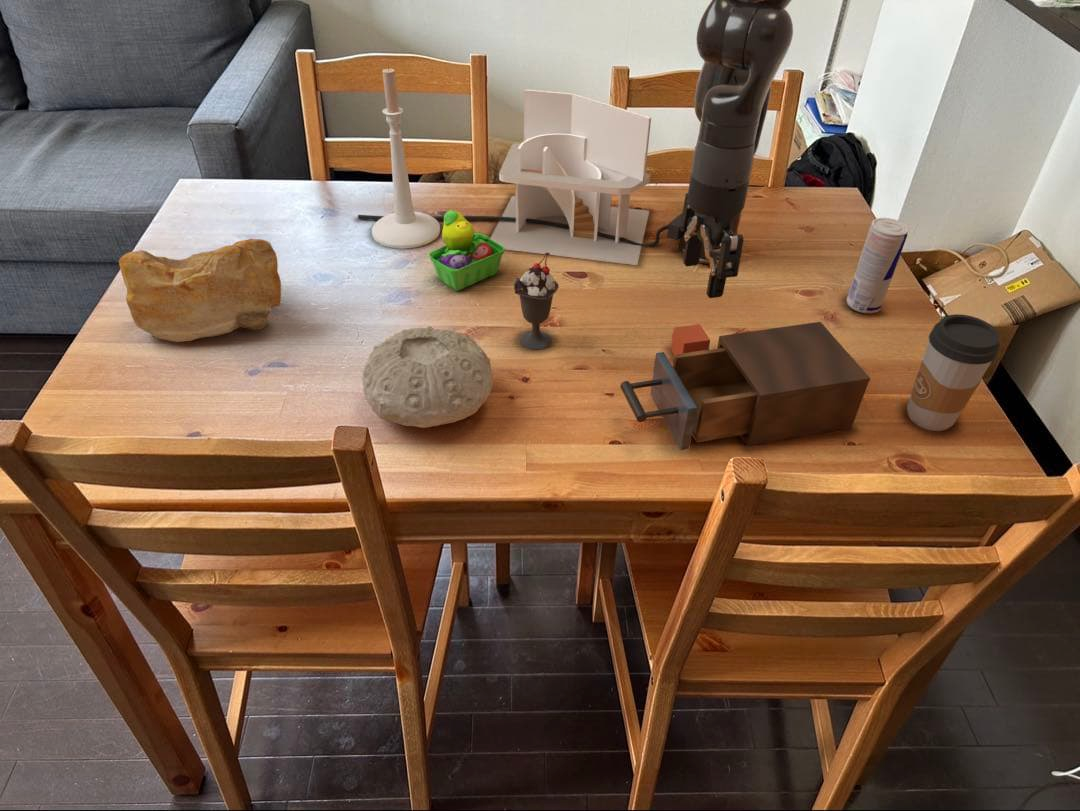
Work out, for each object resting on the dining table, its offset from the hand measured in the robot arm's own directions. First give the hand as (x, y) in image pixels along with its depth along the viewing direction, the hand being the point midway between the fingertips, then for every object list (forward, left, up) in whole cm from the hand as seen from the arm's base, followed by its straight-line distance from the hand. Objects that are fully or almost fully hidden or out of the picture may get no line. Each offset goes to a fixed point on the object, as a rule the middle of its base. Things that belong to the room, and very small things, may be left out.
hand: (702, 280), depth 112 cm
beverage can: (+17, +30, -14) cm, 37 cm away
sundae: (-21, -11, -14) cm, 28 cm away
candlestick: (-61, +2, -14) cm, 63 cm away
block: (0, 0, -14) cm, 14 cm away
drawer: (+8, -13, -13) cm, 20 cm away
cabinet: (+16, -3, -14) cm, 21 cm away
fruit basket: (-42, -3, -14) cm, 44 cm away
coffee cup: (+34, +8, -14) cm, 37 cm away
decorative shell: (-24, -32, -14) cm, 42 cm away
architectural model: (-37, +22, -14) cm, 45 cm away
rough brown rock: (-65, -36, -14) cm, 76 cm away
